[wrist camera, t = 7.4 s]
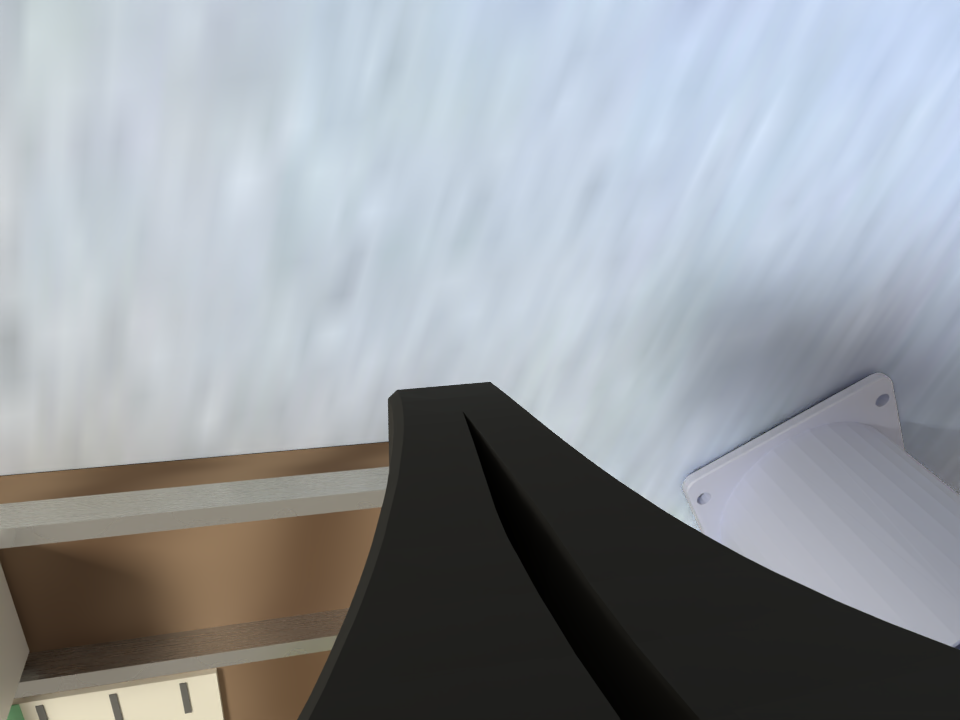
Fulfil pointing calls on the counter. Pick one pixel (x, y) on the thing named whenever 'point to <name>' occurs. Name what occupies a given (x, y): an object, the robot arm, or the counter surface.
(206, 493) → the anvil and rails
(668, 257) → the counter surface
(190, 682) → the gauge scale
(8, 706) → the gauge carriage
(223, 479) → the gauge bed
